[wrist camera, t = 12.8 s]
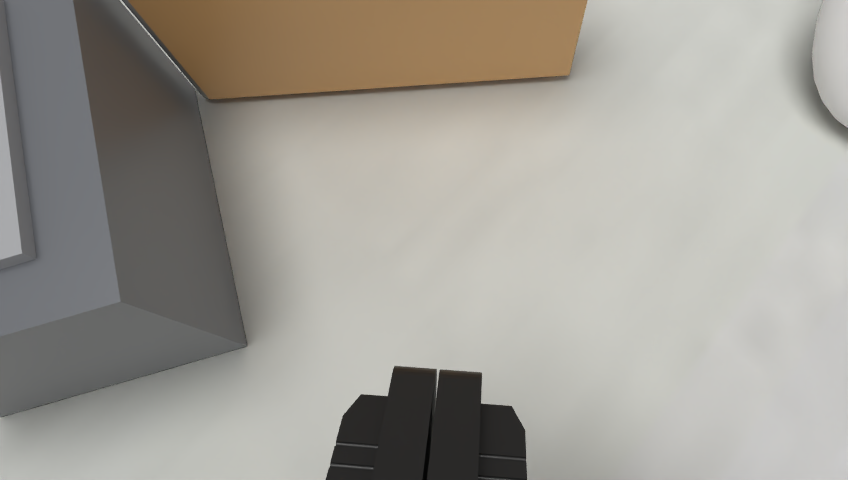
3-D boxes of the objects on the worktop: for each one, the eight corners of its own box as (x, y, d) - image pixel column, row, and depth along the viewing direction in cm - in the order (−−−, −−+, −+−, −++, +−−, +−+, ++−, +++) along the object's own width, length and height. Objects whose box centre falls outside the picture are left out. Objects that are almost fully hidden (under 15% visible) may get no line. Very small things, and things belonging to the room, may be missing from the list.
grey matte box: (0, 417, 28) (-314, 409, 17) (-27, 153, 31) (-308, 1, 20) (247, 346, 27) (93, 292, 17) (194, 89, 31) (35, -99, 20)
